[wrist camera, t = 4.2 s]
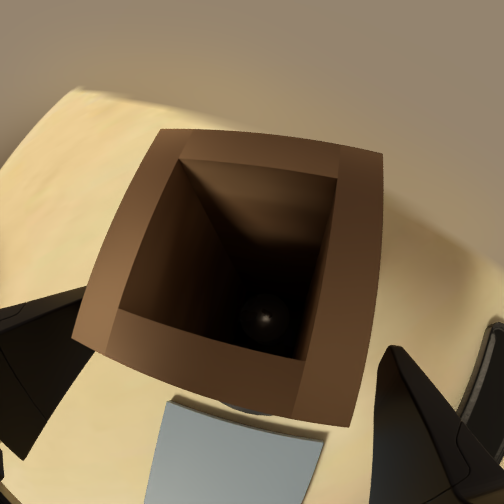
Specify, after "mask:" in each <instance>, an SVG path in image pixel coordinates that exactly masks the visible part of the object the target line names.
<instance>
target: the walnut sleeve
mask: <svg viewBox="0 0 504 504" xmlns="http://www.w3.org/2000/svg"><path fill="white" fill-rule="evenodd" d="M382 227H383V154H382V153H377V152H373V151H369V150H364V149H359V148H355V147H350V146H344V145H339V144H333V143H328V142H322V141H316V140H310V139H303V138H295V137H288V136H280V135H272V134H262V133H251V132H239V131H224V130H203V129H160V131H159V133H158V134H157V136H156V138H155V139H154V141H153V143H152V144H151V146H150V148H149V150H148V151H147V153H146V155H145V157H144V159H143V160H142V162H141V164H140V166H139V168H138V170H137V171H136V173H135V175H134V177H133V179H132V181H131V183H130V185H129V187H128V189H127V191H126V193H125V195H124V197H123V199H122V201H121V203H120V206H119V208H118V210H117V212H116V214H115V216H114V219H113V221H112V223H111V225H110V228H109V230H108V232H107V235H106V237H105V239H104V242H103V244H102V247H101V249H100V252H99V254H98V257H97V260H96V262H95V265H94V268H93V270H92V273H91V276H90V279H89V281H88V284H87V287H86V290H85V293H84V296H83V299H82V303H81V306H80V309H79V312H78V316H77V319H76V323H75V326H74V330H73V333H72V337H71V338H72V339H74V340H76V341H78V342H80V343H81V344H83V345H85V346H87V347H89V348H91V349H93V350H95V351H96V352H98V353H100V354H102V355H104V356H106V357H108V358H110V359H113V360H115V361H117V362H119V363H121V364H123V365H125V366H127V367H130V368H132V369H134V370H136V371H139V372H141V373H143V374H146V375H148V376H151V377H153V378H155V379H158V380H160V381H163V382H166V383H168V384H171V385H173V386H176V387H179V388H182V389H184V390H187V391H190V392H193V393H196V394H199V395H202V396H205V397H208V398H211V399H214V400H218V401H221V402H224V403H228V404H231V405H235V406H238V407H242V408H246V409H250V410H254V411H258V412H262V413H266V414H270V415H275V416H280V417H284V418H289V419H295V420H300V421H306V422H311V423H318V424H324V425H332V426H339V427H348V428H349V426H350V423H351V420H352V416H353V412H354V409H355V405H356V401H357V397H358V393H359V389H360V385H361V381H362V377H363V372H364V368H365V363H366V358H367V353H368V348H369V342H370V337H371V331H372V325H373V318H374V312H375V305H376V297H377V289H378V280H379V270H380V259H381V245H382ZM247 290H249V291H253V292H258V293H262V294H272V295H275V296H277V297H281V298H286V299H291V300H296V301H301V302H305V303H304V308H303V313H302V317H301V322H300V326H299V331H298V335H297V339H296V343H295V348H294V352H293V356H292V359H290V358H285V357H281V356H276V355H272V354H267V353H263V352H259V351H255V350H251V349H247V348H243V347H239V346H235V345H232V343H233V339H234V335H235V332H236V328H237V324H238V320H239V317H240V313H241V309H242V306H243V302H244V298H245V294H246V291H247Z"/></svg>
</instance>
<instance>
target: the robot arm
mask: <svg viewBox="0 0 504 504" xmlns="http://www.w3.org/2000/svg"><path fill="white" fill-rule="evenodd" d="M86 287H87V286H84V287H80V288H77V289H73V290H69V291H65V292H62V293H58V294H54V295H51V296H47V297H43V298H40V299H36V300H33V301H29V302H27V303H26V302H25V303H22V304H18V305H14V306H10V307H6V308H2V309H0V443H1V442H3V443H4V444H5V445H6V446H7V447H8V448H9V449H10V450H11V451H12V452H13V453H14V454H16V455H17V456H18V457H19V458H20V459H21V460H22V461H24V460H25V458H26V457H27V455H28V453H29V452H30V450H31V448H32V446H33V445H34V443H35V441H36V440H37V438H38V436H39V435H40V433H41V431H42V430H43V428H44V427H45V425H46V423H47V421H48V420H49V418H50V417H51V415H52V414H53V412H54V410H55V409H56V407H57V406H58V404H59V403H60V401H61V400H62V398H63V397H64V395H65V394H66V392H67V391H68V389H69V388H70V386H71V385H72V383H73V382H74V381H75V379H76V378H77V376H78V375H79V373H80V372H81V370H82V369H83V368H84V366H85V365H86V363H87V362H88V361H89V359H90V358H91V356H92V355H93V354H94V352H95V350H93V349H91V348H89V347H87V346H85V345H83V344H81V343H80V342H78V341H76V340H74V339H72V338H71V337H72V333H73V330H74V326H75V323H76V319H77V316H78V312H79V309H80V306H81V303H82V299H83V296H84V293H85V290H86ZM3 478H4V469H3V455H2V450H1V449H0V504H22V503H21V502H20V501H19V500H18V499H17V498H16V497H15V496H14V495H13V494H12V493H11V492H10V491H9V490H8V489H7V488H6V487H5V486H4V485H3V483H2V482H1V481H2V479H3ZM369 504H504V470H503V468H502V467H501V466H500V465H499V464H498V463H497V462H496V460H495V459H494V458H493V457H492V456H491V455H490V454H489V453H488V451H487V450H486V449H485V448H484V447H483V446H482V445H481V443H480V442H479V441H478V440H477V439H476V437H475V436H474V435H473V434H472V432H471V431H470V430H469V428H468V427H467V426H466V425H465V423H464V422H463V421H461V418H460V417H459V416H458V414H457V413H456V412H455V410H454V409H453V408H452V407H451V405H450V404H449V403H448V402H447V400H446V399H445V398H444V397H443V395H442V394H441V393H440V392H439V390H438V389H437V388H436V387H435V385H434V384H433V383H432V382H431V381H430V379H429V378H428V377H427V376H426V375H425V373H424V372H423V371H422V370H421V369H420V367H419V366H418V365H417V364H416V363H415V361H414V360H413V359H412V358H411V357H410V356H409V354H408V353H407V352H406V351H405V350H404V349H403V348H402V347H401V346H396V345H390V346H388V348H387V349H386V351H385V353H384V355H383V357H382V359H381V361H380V363H379V366H378V370H377V383H376V395H375V405H374V435H373V462H372V477H371V489H370V498H369Z"/></svg>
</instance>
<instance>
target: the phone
mask: <svg viewBox="0 0 504 504" xmlns="http://www.w3.org/2000/svg"><path fill="white" fill-rule="evenodd" d="M456 413H457V414H458V416H459V417H460V418H461V421H463V422H464V423H465V425H466V426H467V427H468V428H469V430H470V431H471V432H472V434H473V435H474V436H475V437H476V439H477V440H478V441H479V442H480V443H481V445H482V446H483V447H484V448H485V449H486V450H487V451H488V453H489V454H490V455H491V456H492V457H493V458H494V459H495V460H496V462H497V463H498V464H500V462H501V461H502V459H503V457H504V324H503V323H501V322H498V323H494V324H491V325H489V326H488V327H487V329H486V331H485V333H484V337H483V340H482V344H481V347H480V351H479V354H478V357H477V360H476V363H475V366H474V369H473V372H472V375H471V377H470V380H469V383H468V385H467V388H466V390H465V393H464V395H463V398H462V400H461V402H460V405H459V407H458V409H457V411H456Z"/></svg>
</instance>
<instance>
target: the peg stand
mask: <svg viewBox="0 0 504 504" xmlns="http://www.w3.org/2000/svg"><path fill="white" fill-rule="evenodd" d="M304 303H305V302H301V301H296V300H291V299H286V298H281V297H277V296H275V295H272V294H262V293H258V292H253V291H249V290H247V291H246V294H245V298H244V302H243V306H242V309H241V313H240V317H239V320H238V324H237V328H236V332H235V335H234V339H233V343H232V345H235V346H239V347H243V348H247V349H251V350H255V351H259V352H263V353H267V354H272V355H276V356H281V357H285V358H290V359H292V356H293V352H294V348H295V343H296V339H297V335H298V331H299V326H300V322H301V317H302V313H303V308H304ZM220 402H221V401H220ZM221 403H223V404H225V405H227V406H229V407H231V408H233V409H236V410H239V411H242V412H245V413H249V414H254V415H266V416H272V415H270V414H266V413H262V412H258V411H254V410H250V409H246V408H242V407H238V406H235V405H231V404H228V403H224V402H221Z"/></svg>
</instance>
